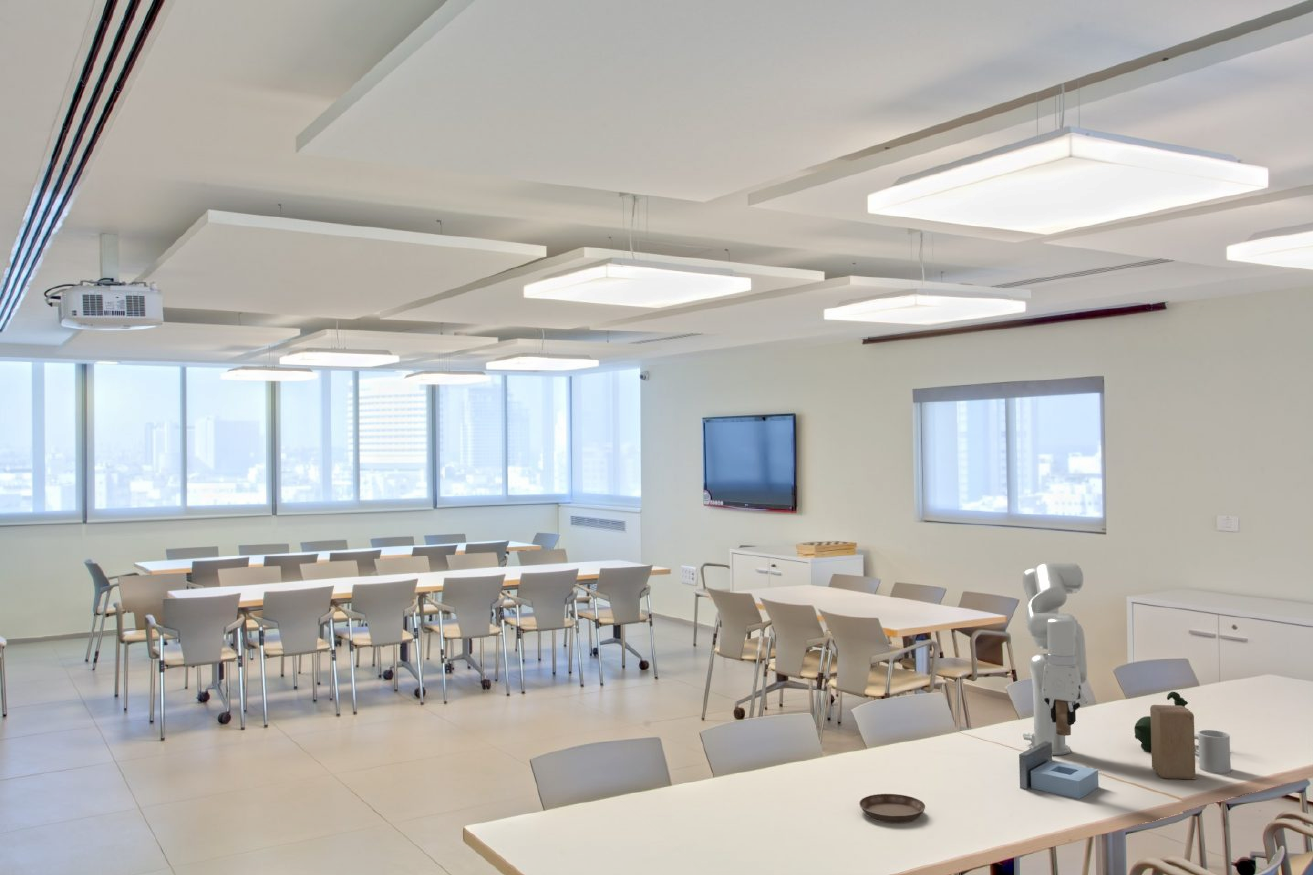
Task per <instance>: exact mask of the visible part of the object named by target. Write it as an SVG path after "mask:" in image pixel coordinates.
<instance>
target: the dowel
mask: <svg viewBox="0 0 1313 875" xmlns="http://www.w3.org/2000/svg"><path fill="white" fill-rule="evenodd" d="M1055 707H1056V734H1058V735H1063V736H1065V737H1066V736H1068V737H1069V736H1071V734H1072V732H1071V731H1072V728H1071V727H1072V725H1068V715H1067V712H1068V711H1069V706H1068V701H1061V700H1055Z"/></svg>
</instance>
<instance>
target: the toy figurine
mask: <svg viewBox="0 0 1313 875" xmlns="http://www.w3.org/2000/svg"><path fill="white" fill-rule="evenodd" d="M1166 699H1167V700H1168V701H1169V700H1171V699H1173V705H1176V706H1184V707H1185V708H1186V705H1188V704H1189V702H1188V701H1187V700H1185V699H1184V698H1183V697H1181V695H1180V693H1178V692H1176V691H1169V693H1168V694H1167V697H1166ZM1134 738H1135V739H1136V740H1138V741H1139V742H1140V747H1141V749H1142V750H1143V751H1144V752H1148V753H1151V717H1150V715H1148V716H1143V717H1140V718H1139V719H1138V720H1137V721H1136V723H1135V725H1134Z"/></svg>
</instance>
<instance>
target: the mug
mask: <svg viewBox="0 0 1313 875" xmlns="http://www.w3.org/2000/svg"><path fill="white" fill-rule="evenodd" d="M1194 736H1195V740H1197V741H1198V751H1197V750H1196V749H1195V757H1197V758H1198V767H1199V769H1200V770H1202V771H1204V772H1206V773H1212V774H1220V775H1221V774H1222V775H1223V774H1229V773H1230V772H1231V771H1232V770H1231V768H1232V766H1231V741H1230V740H1231V738H1230V737H1231V736H1230V734H1228V733H1227V732H1224V731H1220V730H1213V729H1204V730H1203V729H1202V730H1200V731H1198V734H1196V733H1194Z"/></svg>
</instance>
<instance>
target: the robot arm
mask: <svg viewBox="0 0 1313 875" xmlns="http://www.w3.org/2000/svg"><path fill="white" fill-rule="evenodd" d="M1083 584H1084V574H1083V570H1082V568H1081V567H1080V565H1078V564H1077V563H1073V562H1044V563H1041V564H1039V565H1038V566H1036V567H1032V568H1027V569H1026V570H1024V571H1023V573H1022V585H1023V588H1024V592H1025V595H1026V597H1027V599H1028V604H1027V605H1026V610H1025V619H1026V625H1027V626H1026V627H1027V630H1028V634H1029V635H1030V636H1031V637H1033V638H1032V640H1033V644H1034V646H1035V647H1036V648H1037V649H1040V650H1047V653H1038V654H1035V655H1033V656H1031V658H1030V661H1029V671H1030V677H1031V683H1032V696H1033V700H1032V701H1033V729H1034V730H1033V731H1034V733H1030V732H1024V733H1023V740H1026V741H1030V744H1029V749H1031V748H1033V747H1035V746H1037V745H1039V744H1041V743H1043V742H1045V741H1047V742H1052V756H1062V755H1063V756H1064V755H1068V754H1070V753H1071V747H1070V746H1069V745H1068V744H1066V736H1063V735H1058V734H1056V707H1055V700H1061V701H1068V706H1069V711H1068V712H1067V715H1068V725H1071V726H1072V725H1075V723H1076V721H1077V720H1076V711H1077V710H1078V709H1079V708H1080V707H1081V706H1083V705H1085V704H1087V703H1088V700H1087V698H1086V696H1085V695H1084V694H1083V692H1082V691H1083V690H1082V684H1085V682H1086V680H1087V678H1088V667H1087V653H1086V652H1087V651H1086V639H1085V633H1084V629H1083V627H1082V625H1081V624H1080V623H1079V622H1078V619H1076V617H1075V616H1074V615H1073V614H1070V613H1060V611H1059V609H1060V608H1062V606H1064V605H1065V604H1066V602H1067V600H1068V594H1070V595H1071V594H1073V595H1074V594H1077V593H1078V592H1079V591H1080V590H1081V589H1082V588H1083ZM1078 700H1079V701H1078Z"/></svg>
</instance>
